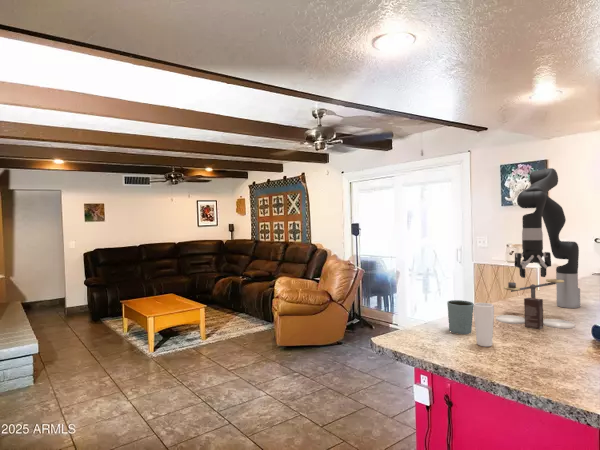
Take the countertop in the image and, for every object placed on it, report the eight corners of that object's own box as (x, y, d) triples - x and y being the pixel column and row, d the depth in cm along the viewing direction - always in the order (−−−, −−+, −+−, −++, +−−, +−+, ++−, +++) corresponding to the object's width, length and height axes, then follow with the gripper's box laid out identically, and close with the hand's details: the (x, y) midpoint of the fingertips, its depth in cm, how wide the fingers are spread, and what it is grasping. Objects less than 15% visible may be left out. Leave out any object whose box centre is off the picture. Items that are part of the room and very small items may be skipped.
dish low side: (516, 316, 185) (516, 314, 185) (531, 323, 173) (531, 321, 173) (490, 317, 185) (490, 315, 185) (504, 324, 173) (504, 322, 173)
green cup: (447, 327, 171) (446, 299, 171) (472, 328, 168) (472, 300, 168) (448, 334, 161) (447, 304, 161) (475, 335, 158) (475, 305, 158)
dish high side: (562, 320, 176) (562, 318, 176) (581, 328, 164) (581, 325, 164) (535, 321, 176) (535, 319, 176) (553, 329, 164) (553, 326, 164)
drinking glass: (493, 342, 149) (492, 302, 148) (495, 348, 142) (495, 306, 142) (473, 341, 151) (472, 302, 151) (475, 347, 144) (474, 305, 144)
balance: (564, 316, 184) (563, 279, 183) (565, 319, 178) (564, 281, 177) (504, 311, 196) (504, 276, 196) (504, 314, 190) (503, 278, 190)
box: (543, 327, 167) (543, 298, 167) (539, 329, 164) (539, 300, 164) (528, 324, 172) (527, 296, 171) (524, 326, 169) (523, 298, 169)
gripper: (543, 238, 171) (544, 275, 171) (510, 238, 171) (511, 276, 171) (554, 238, 164) (555, 278, 164) (520, 239, 163) (521, 279, 164)
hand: (533, 277), depth 168 cm, fingers open, 8 cm apart
